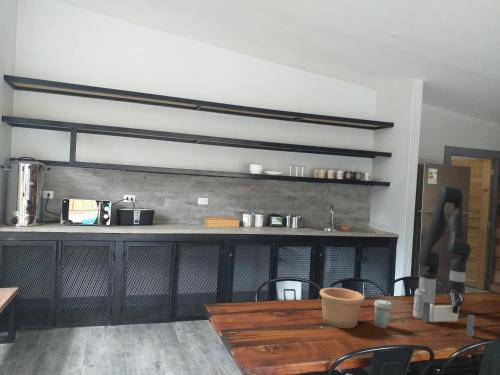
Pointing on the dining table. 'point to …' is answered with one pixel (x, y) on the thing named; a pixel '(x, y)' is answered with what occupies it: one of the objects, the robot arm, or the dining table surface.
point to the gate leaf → (442, 314)
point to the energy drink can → (419, 303)
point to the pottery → (341, 307)
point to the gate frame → (469, 321)
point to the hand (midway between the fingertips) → (455, 313)
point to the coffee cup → (382, 313)
